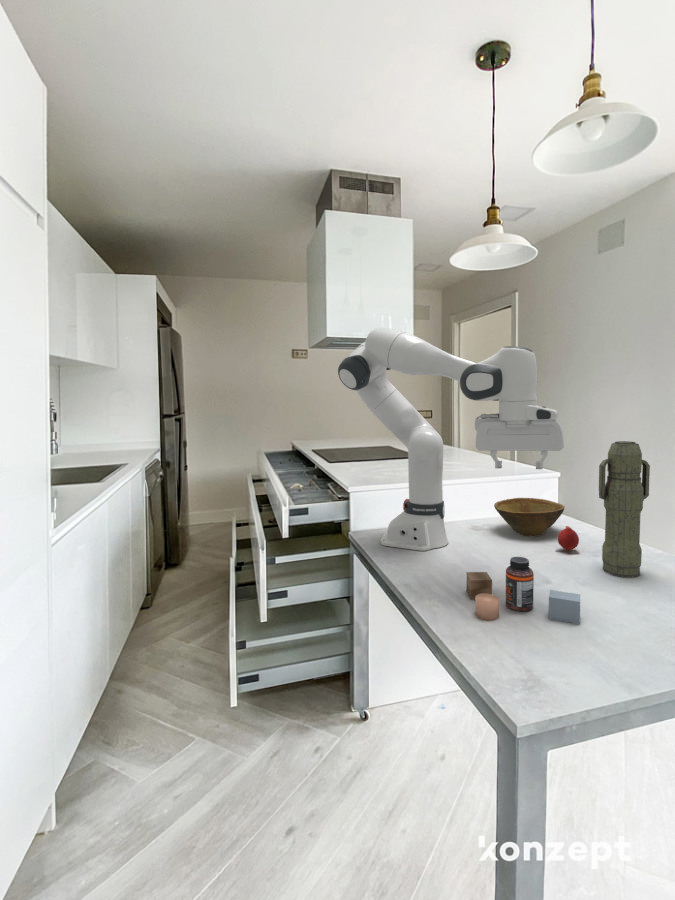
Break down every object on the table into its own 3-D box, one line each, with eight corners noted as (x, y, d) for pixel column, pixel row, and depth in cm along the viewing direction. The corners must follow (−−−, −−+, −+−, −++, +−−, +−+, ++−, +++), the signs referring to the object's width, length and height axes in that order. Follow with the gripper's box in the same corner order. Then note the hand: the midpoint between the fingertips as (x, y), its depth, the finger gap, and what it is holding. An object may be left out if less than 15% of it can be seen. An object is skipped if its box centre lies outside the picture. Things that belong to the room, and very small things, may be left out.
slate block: (548, 618, 99) (548, 596, 98) (549, 611, 102) (550, 589, 102) (579, 624, 96) (580, 601, 95) (580, 616, 99) (580, 594, 99)
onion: (574, 548, 142) (574, 523, 141) (582, 554, 136) (582, 528, 135) (554, 548, 142) (554, 523, 141) (561, 554, 136) (562, 528, 136)
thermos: (654, 576, 118) (660, 442, 114) (609, 578, 118) (613, 444, 114) (632, 564, 127) (636, 439, 123) (590, 566, 127) (593, 441, 123)
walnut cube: (471, 600, 109) (470, 580, 109) (466, 591, 114) (466, 572, 114) (492, 599, 109) (492, 579, 108) (486, 591, 114) (486, 571, 113)
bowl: (488, 523, 172) (488, 497, 170) (552, 523, 168) (552, 497, 167) (501, 542, 150) (501, 512, 149) (574, 542, 147) (575, 512, 146)
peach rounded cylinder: (475, 619, 100) (474, 601, 99) (475, 608, 105) (475, 592, 104) (499, 621, 98) (499, 604, 98) (498, 611, 103) (498, 594, 103)
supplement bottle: (501, 601, 108) (501, 555, 106) (525, 599, 108) (525, 553, 107) (512, 613, 102) (513, 564, 100) (538, 611, 102) (538, 562, 101)
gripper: (472, 415, 113) (473, 469, 115) (563, 412, 104) (563, 471, 105) (476, 413, 119) (477, 465, 120) (564, 410, 109) (563, 467, 111)
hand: (518, 468), depth 113 cm, fingers open, 8 cm apart
